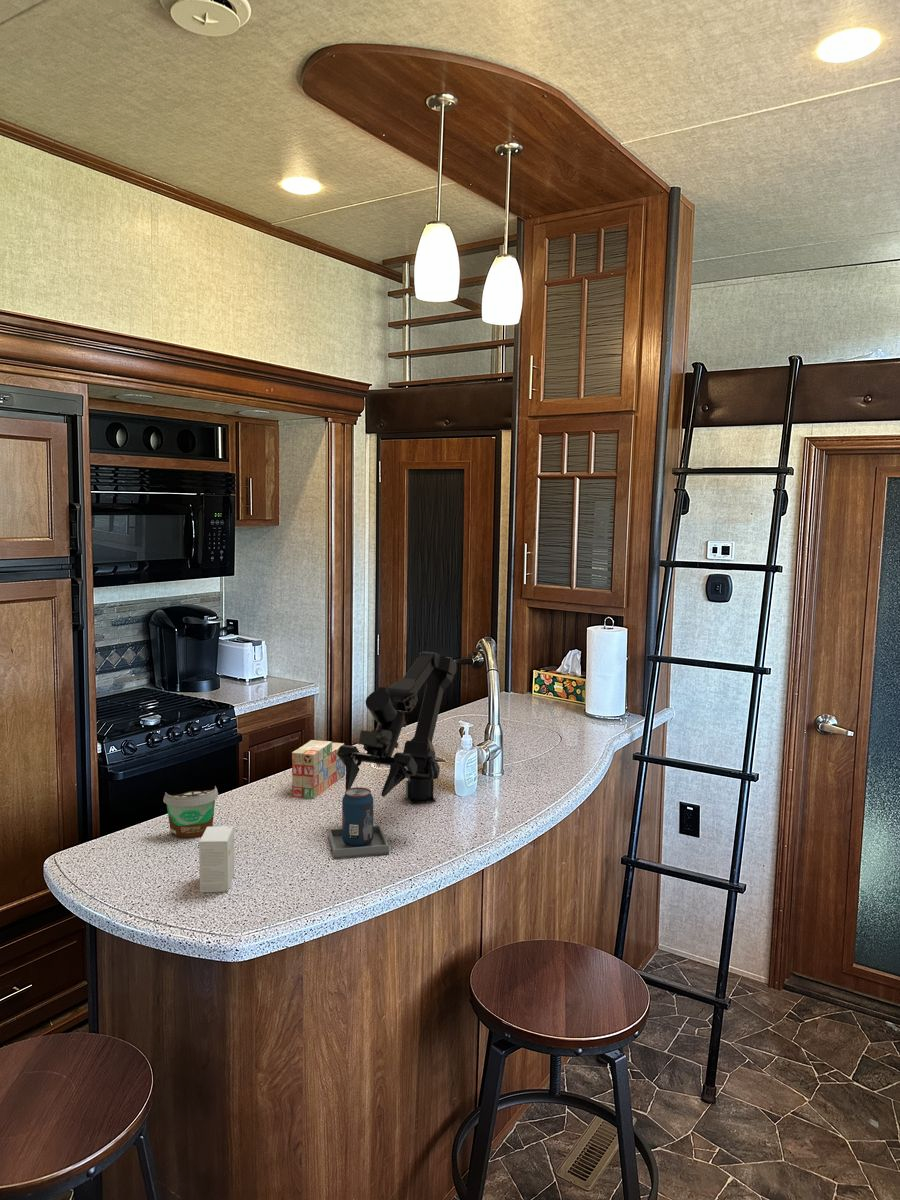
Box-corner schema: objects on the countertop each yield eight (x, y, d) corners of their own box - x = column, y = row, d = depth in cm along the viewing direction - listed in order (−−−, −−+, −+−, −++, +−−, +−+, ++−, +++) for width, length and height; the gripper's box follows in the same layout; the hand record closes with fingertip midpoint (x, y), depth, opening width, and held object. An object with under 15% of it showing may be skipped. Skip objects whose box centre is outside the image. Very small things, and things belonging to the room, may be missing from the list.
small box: (207, 875, 171) (206, 825, 170) (235, 874, 171) (234, 825, 170) (199, 893, 163) (198, 841, 162) (228, 892, 163) (227, 840, 162)
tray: (380, 833, 194) (380, 825, 194) (389, 854, 182) (389, 845, 182) (328, 837, 191) (328, 829, 191) (334, 858, 180) (334, 850, 179)
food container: (168, 844, 186) (167, 801, 185) (163, 834, 192) (162, 792, 190) (224, 835, 192) (223, 793, 191) (218, 826, 197) (217, 785, 196)
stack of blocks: (325, 773, 238) (324, 731, 237) (345, 775, 237) (345, 732, 235) (291, 797, 218) (291, 751, 217) (313, 799, 216) (313, 753, 215)
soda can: (347, 836, 191) (347, 785, 190) (376, 838, 190) (376, 787, 189) (338, 848, 184) (338, 795, 183) (368, 850, 183) (369, 797, 182)
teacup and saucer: (404, 768, 244) (404, 755, 244) (380, 773, 240) (380, 759, 239) (389, 761, 252) (389, 748, 251) (366, 765, 247) (366, 752, 247)
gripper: (340, 711, 195) (315, 770, 186) (412, 720, 188) (389, 782, 179) (357, 735, 203) (333, 793, 194) (426, 744, 196) (405, 805, 187)
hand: (364, 793), depth 188 cm, fingers open, 9 cm apart
